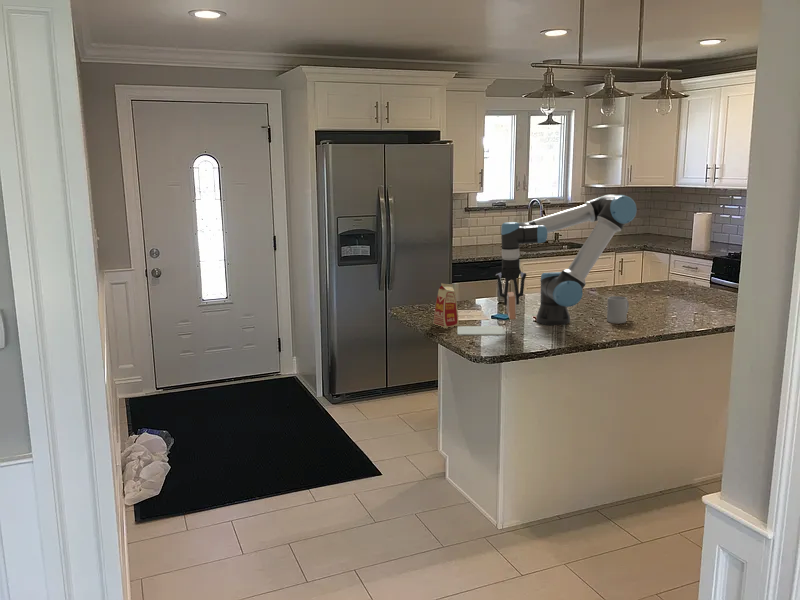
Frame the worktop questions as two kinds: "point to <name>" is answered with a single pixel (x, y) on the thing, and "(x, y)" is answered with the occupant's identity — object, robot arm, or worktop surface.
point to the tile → (511, 305)
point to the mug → (617, 309)
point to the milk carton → (446, 307)
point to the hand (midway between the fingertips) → (511, 311)
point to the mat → (480, 330)
